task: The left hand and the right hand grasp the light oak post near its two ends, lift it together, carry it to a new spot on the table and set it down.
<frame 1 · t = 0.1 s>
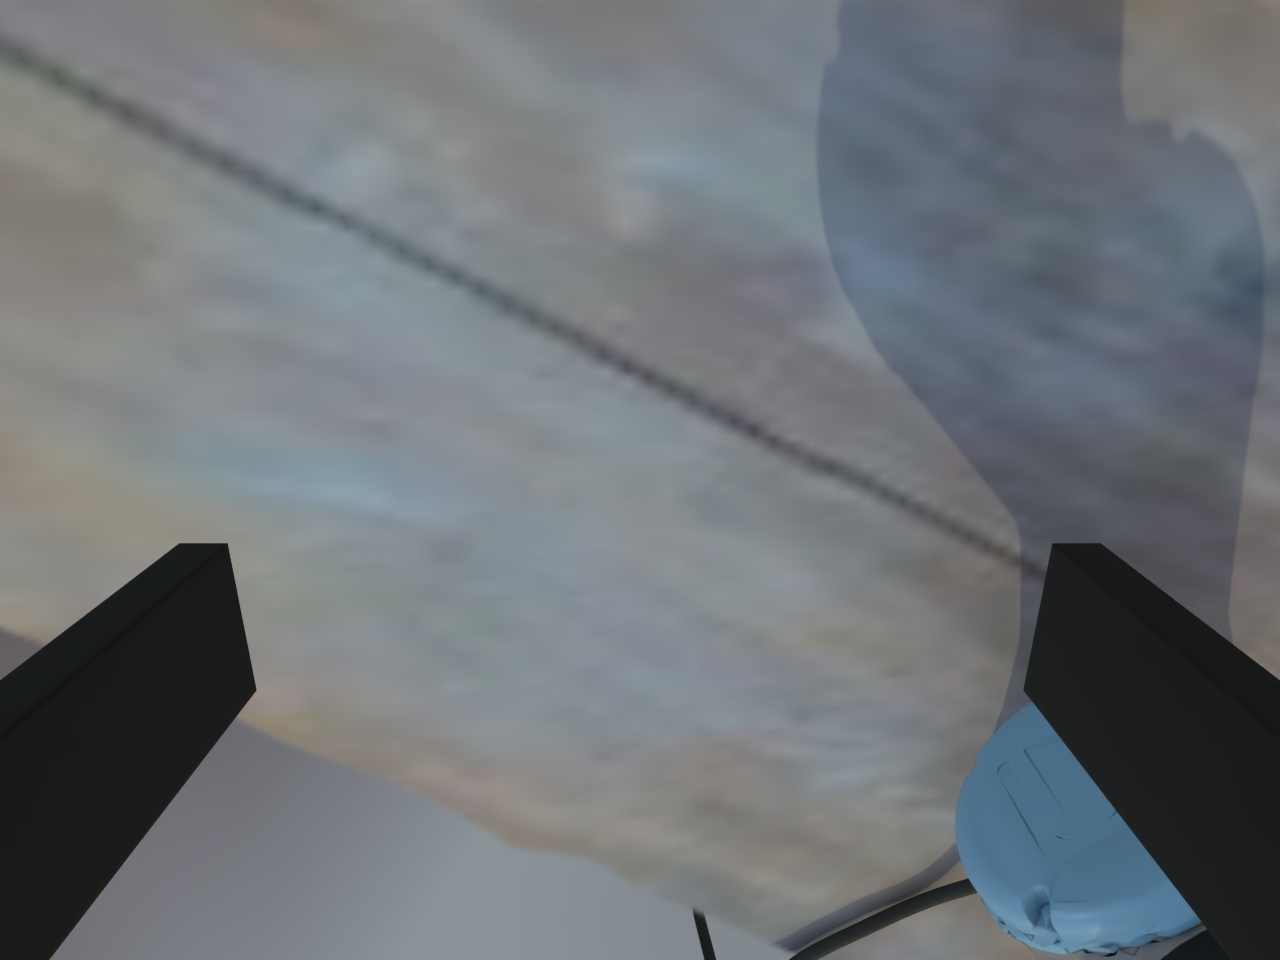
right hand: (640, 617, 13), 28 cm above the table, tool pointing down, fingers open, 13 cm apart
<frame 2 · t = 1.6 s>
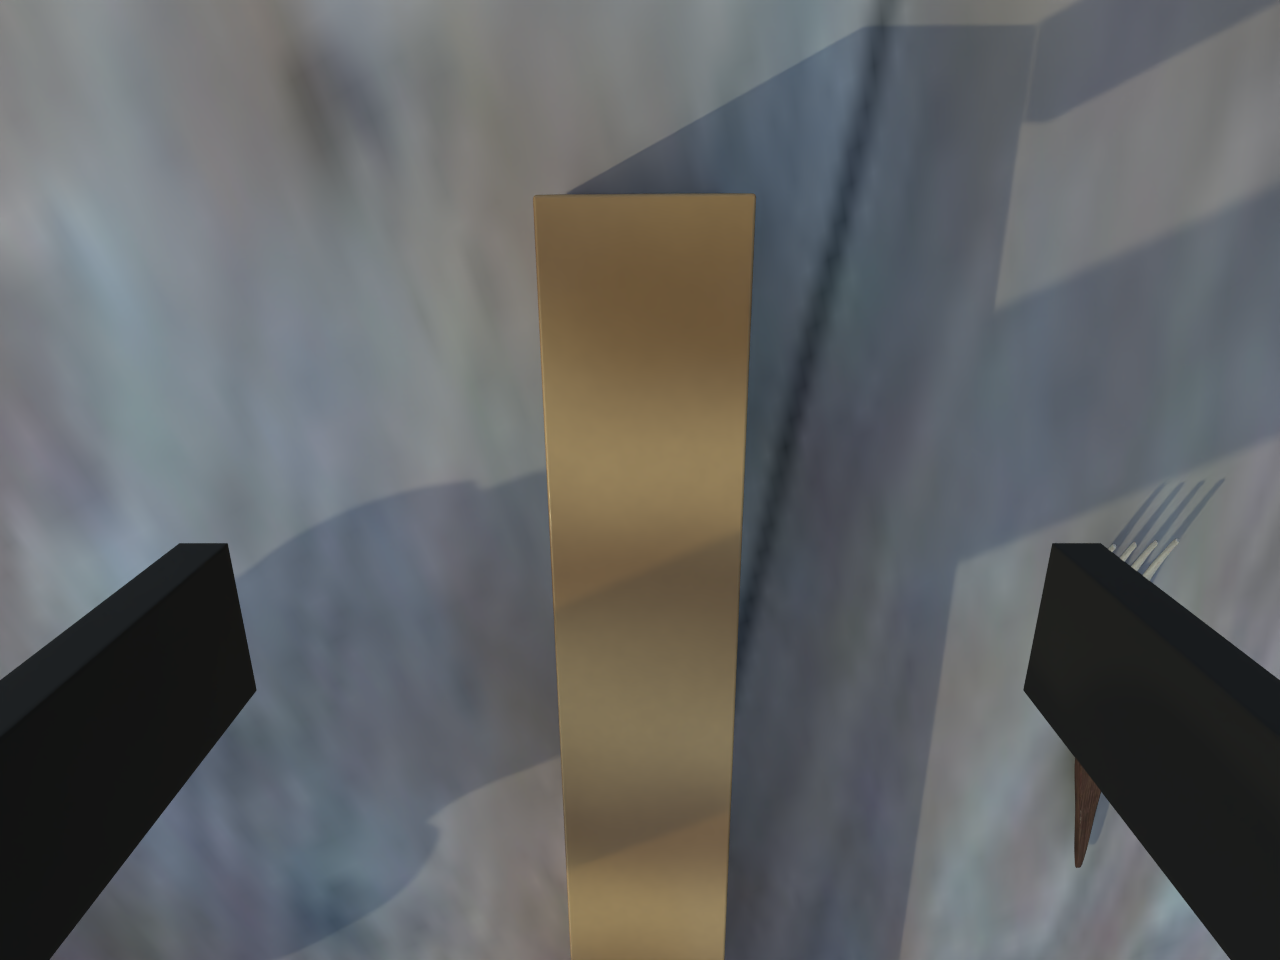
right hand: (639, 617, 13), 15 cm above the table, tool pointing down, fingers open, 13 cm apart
fork: (1088, 700, 32), on the table
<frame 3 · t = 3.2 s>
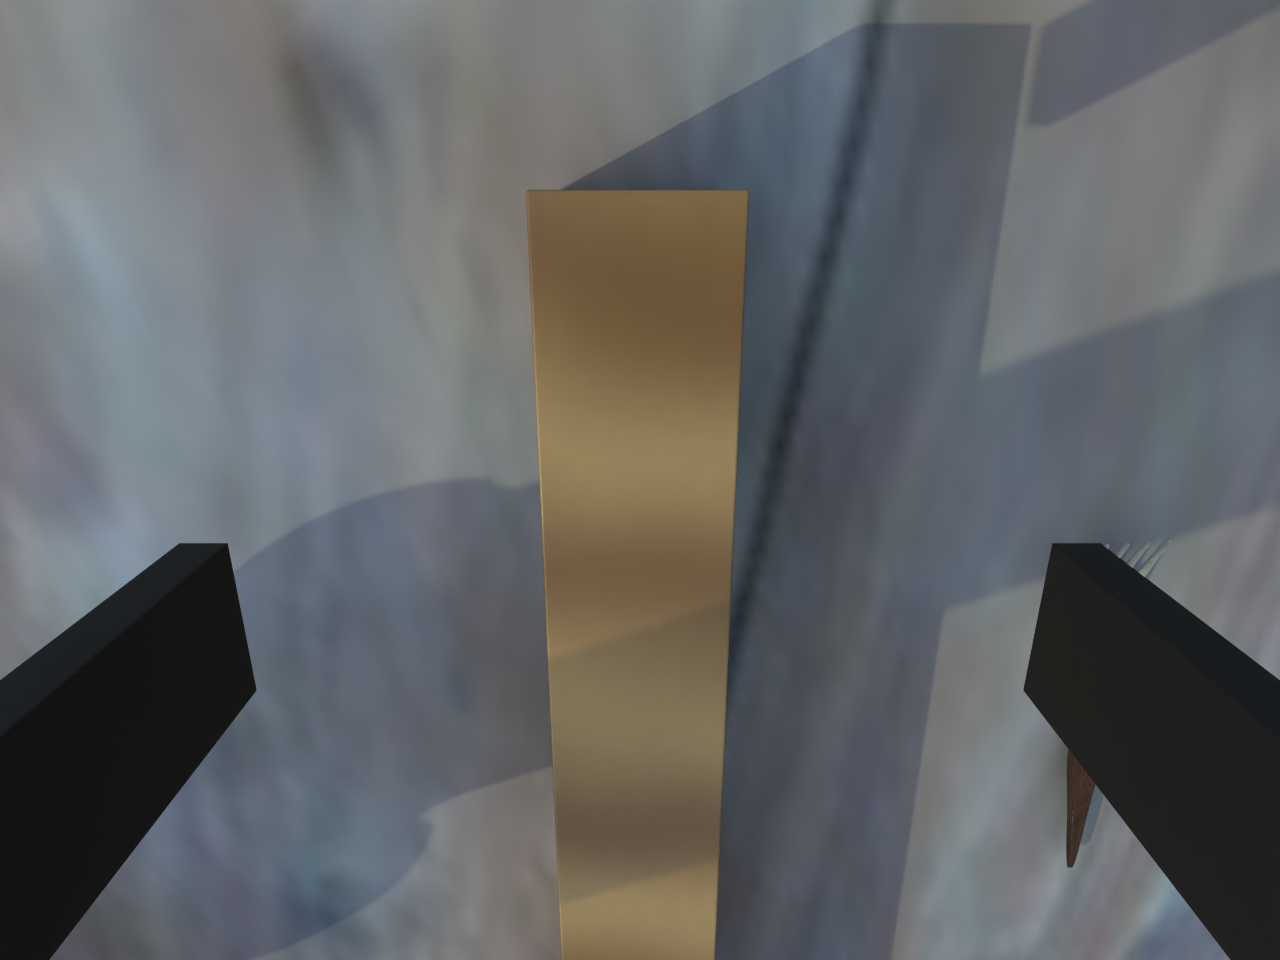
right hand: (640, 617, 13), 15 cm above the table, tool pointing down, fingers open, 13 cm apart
fork: (1080, 700, 32), on the table
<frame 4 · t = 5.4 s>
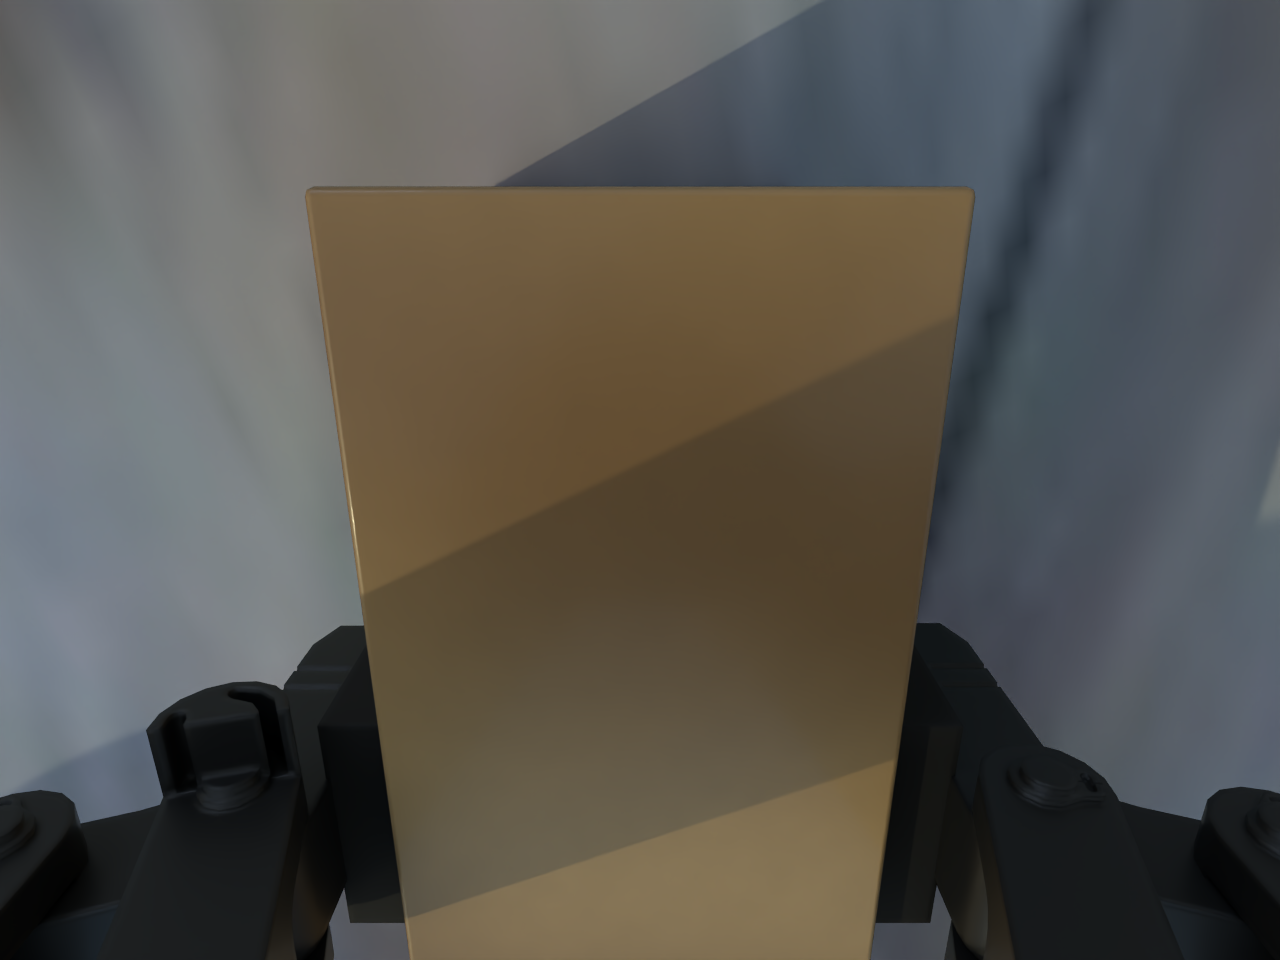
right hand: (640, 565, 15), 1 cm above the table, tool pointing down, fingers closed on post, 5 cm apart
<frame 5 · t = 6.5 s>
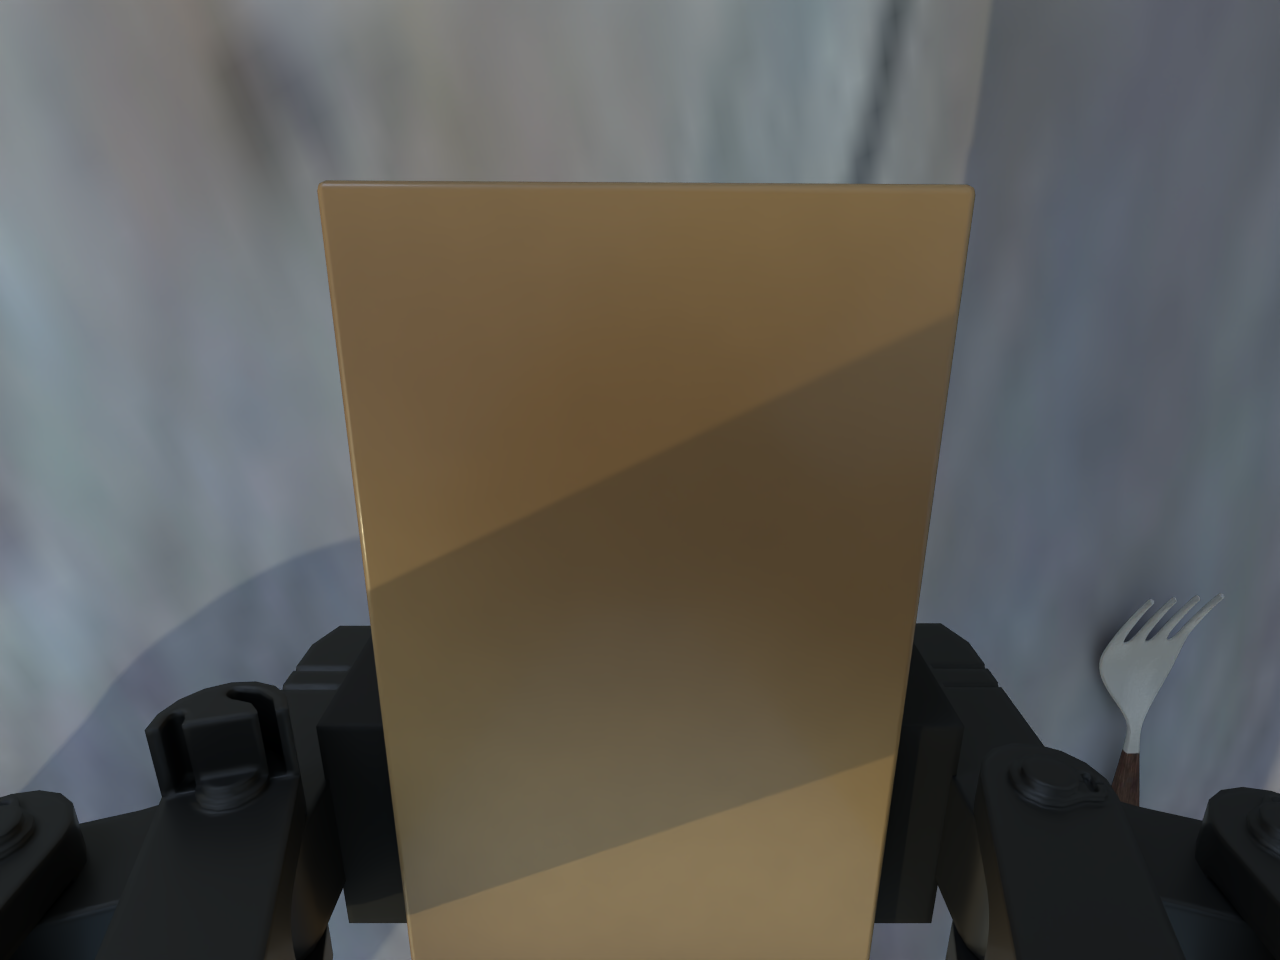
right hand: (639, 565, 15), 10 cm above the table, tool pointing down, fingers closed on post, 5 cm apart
fork: (1115, 764, 29), on the table
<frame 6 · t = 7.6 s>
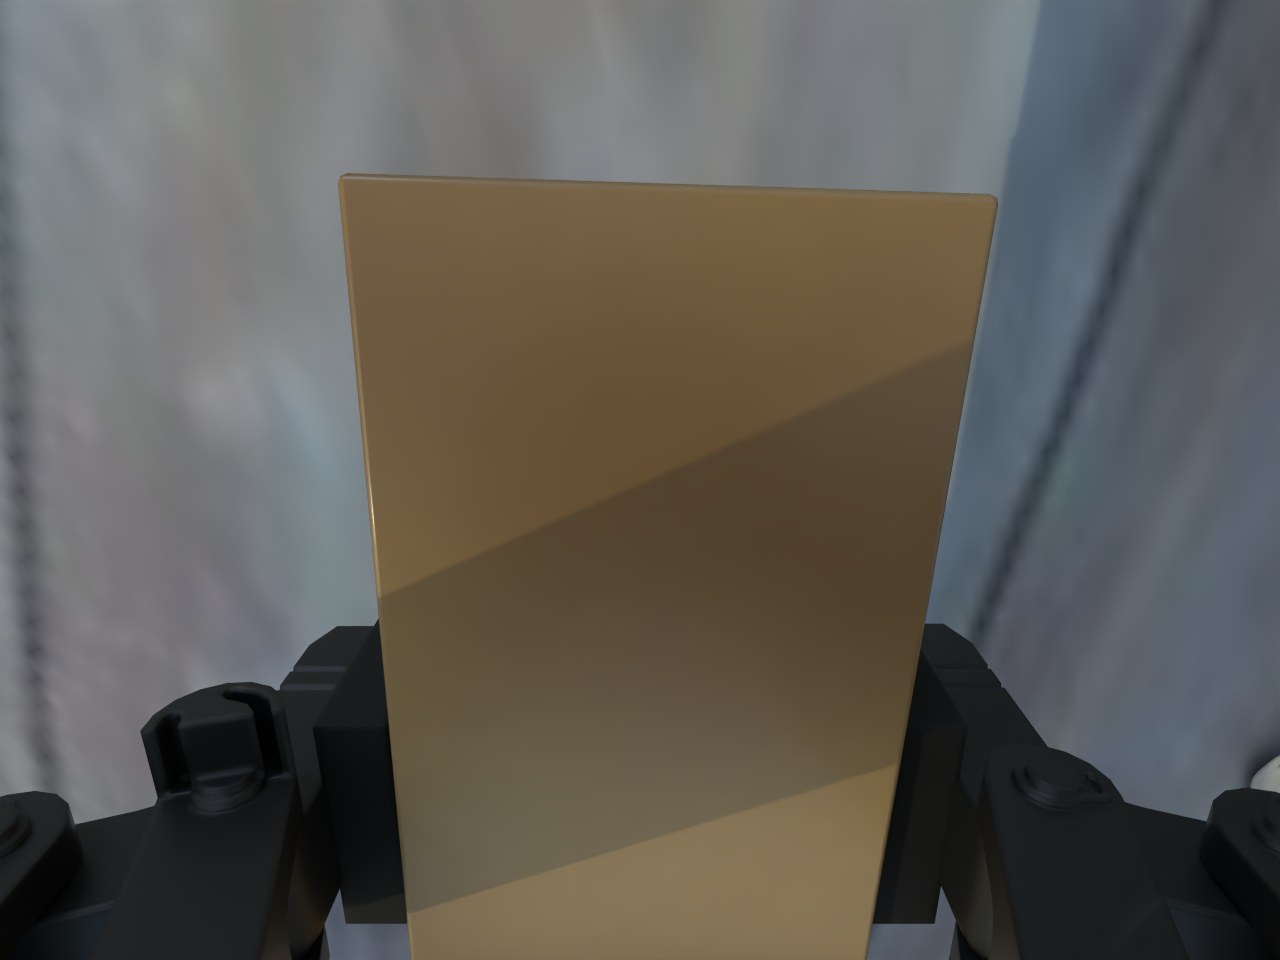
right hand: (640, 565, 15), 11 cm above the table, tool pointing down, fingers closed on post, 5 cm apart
fork: (1255, 868, 31), on the table
when the left hand's fingers open (2 cm above the table, at t = 10.2 s): post drops 2 cm, on the table.
when the right hand's fingers open (2 cm above the table, at t = 10.2 s): post drops 2 cm, on the table.
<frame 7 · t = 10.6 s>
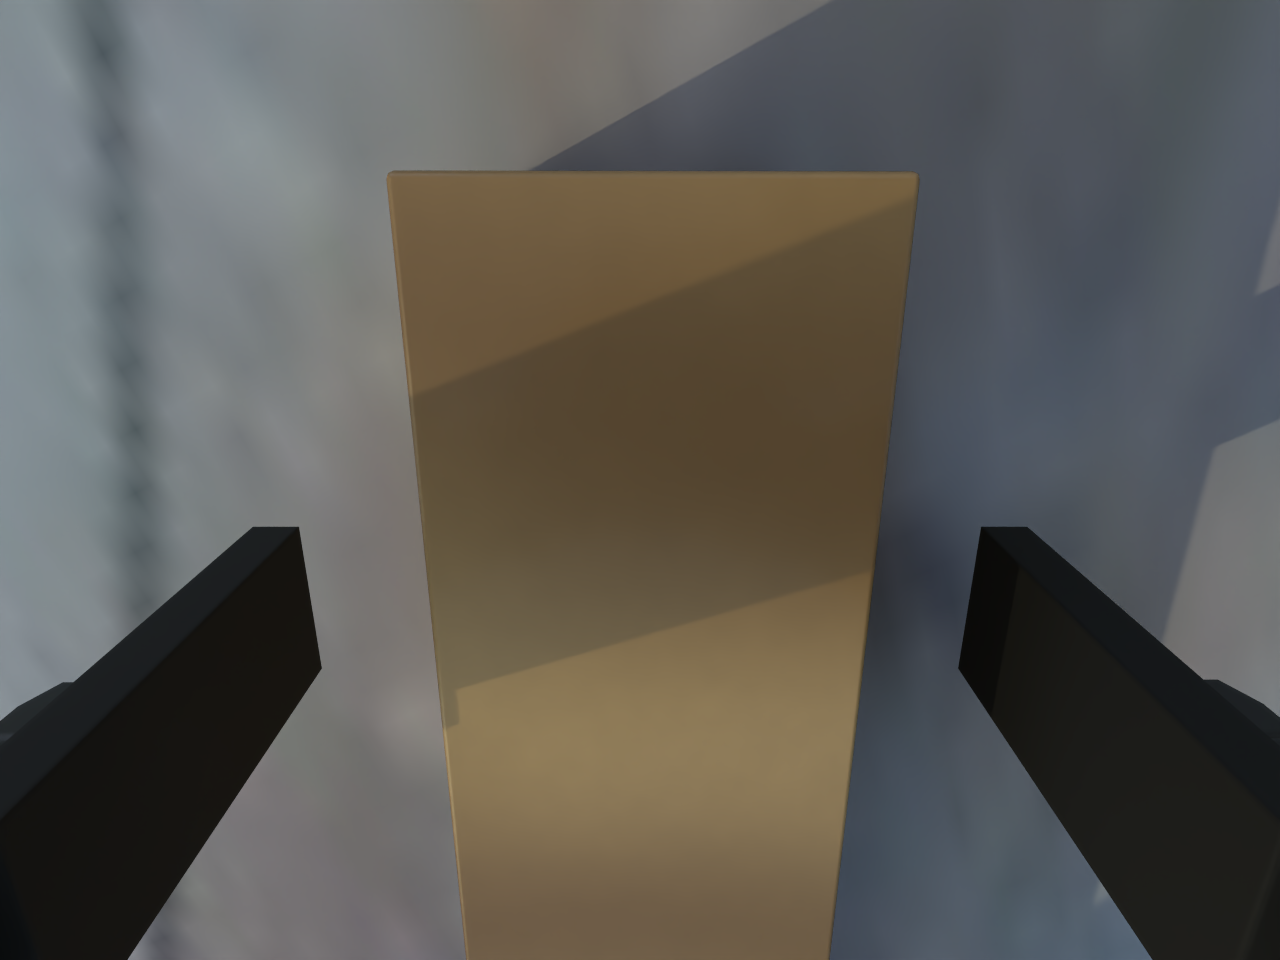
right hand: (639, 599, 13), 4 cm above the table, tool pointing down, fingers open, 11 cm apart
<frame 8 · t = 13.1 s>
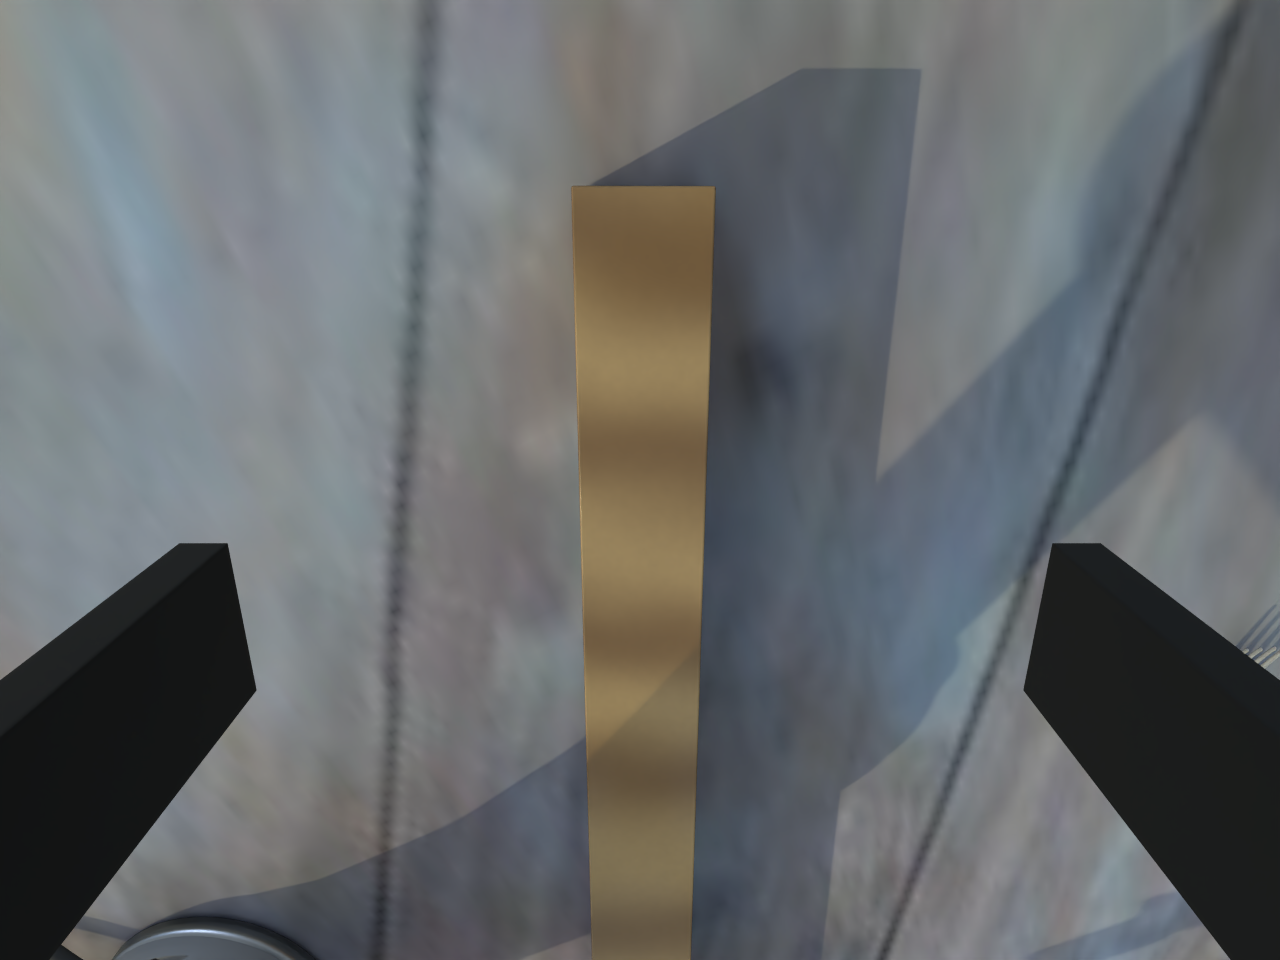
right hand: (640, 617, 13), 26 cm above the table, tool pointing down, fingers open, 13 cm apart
post: (641, 819, 47), on the table
fork: (1214, 746, 45), on the table
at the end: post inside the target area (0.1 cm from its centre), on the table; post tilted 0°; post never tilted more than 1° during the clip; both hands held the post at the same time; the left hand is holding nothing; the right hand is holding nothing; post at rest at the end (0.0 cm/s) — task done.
